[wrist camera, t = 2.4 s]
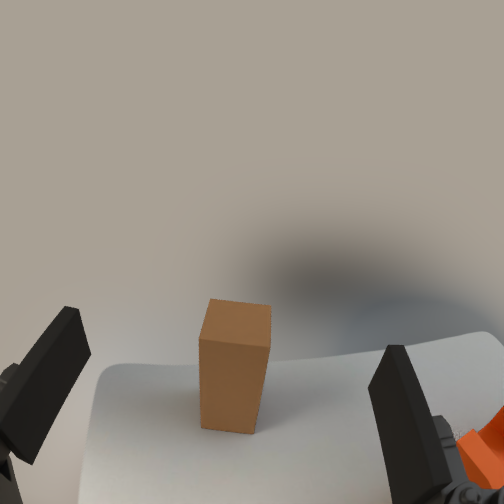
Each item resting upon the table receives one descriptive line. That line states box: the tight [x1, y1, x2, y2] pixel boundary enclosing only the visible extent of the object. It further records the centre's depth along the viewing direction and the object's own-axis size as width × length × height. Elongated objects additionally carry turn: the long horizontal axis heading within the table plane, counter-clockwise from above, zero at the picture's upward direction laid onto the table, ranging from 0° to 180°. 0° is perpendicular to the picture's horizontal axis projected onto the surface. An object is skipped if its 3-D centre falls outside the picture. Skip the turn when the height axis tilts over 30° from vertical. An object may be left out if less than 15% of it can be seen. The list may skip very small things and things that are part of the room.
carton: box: [199, 299, 271, 434], centre depth 27 cm, size 5×5×12 cm
